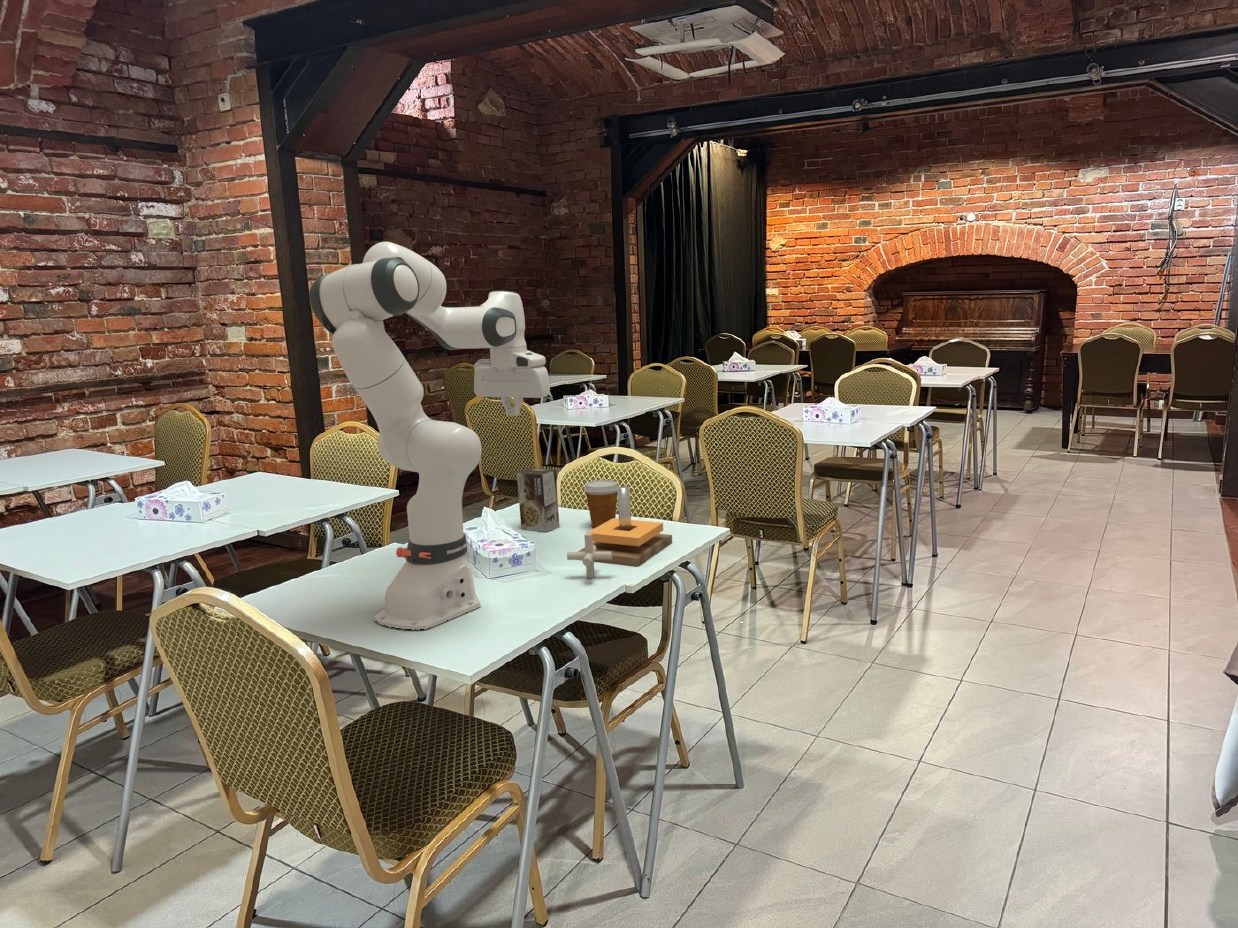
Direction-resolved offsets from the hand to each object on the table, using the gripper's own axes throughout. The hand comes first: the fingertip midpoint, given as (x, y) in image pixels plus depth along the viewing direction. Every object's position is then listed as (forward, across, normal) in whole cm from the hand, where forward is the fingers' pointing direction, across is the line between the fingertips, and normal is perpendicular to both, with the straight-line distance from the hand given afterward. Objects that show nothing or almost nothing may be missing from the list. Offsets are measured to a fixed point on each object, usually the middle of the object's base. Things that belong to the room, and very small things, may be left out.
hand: (513, 415), depth 208 cm
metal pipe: (+32, +26, +7) cm, 42 cm away
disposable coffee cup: (+34, +10, +25) cm, 44 cm away
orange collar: (+30, +26, +7) cm, 40 cm away
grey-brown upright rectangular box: (+34, -6, +18) cm, 39 cm away
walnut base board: (+34, +26, +7) cm, 43 cm away
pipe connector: (+34, +27, -13) cm, 46 cm away
